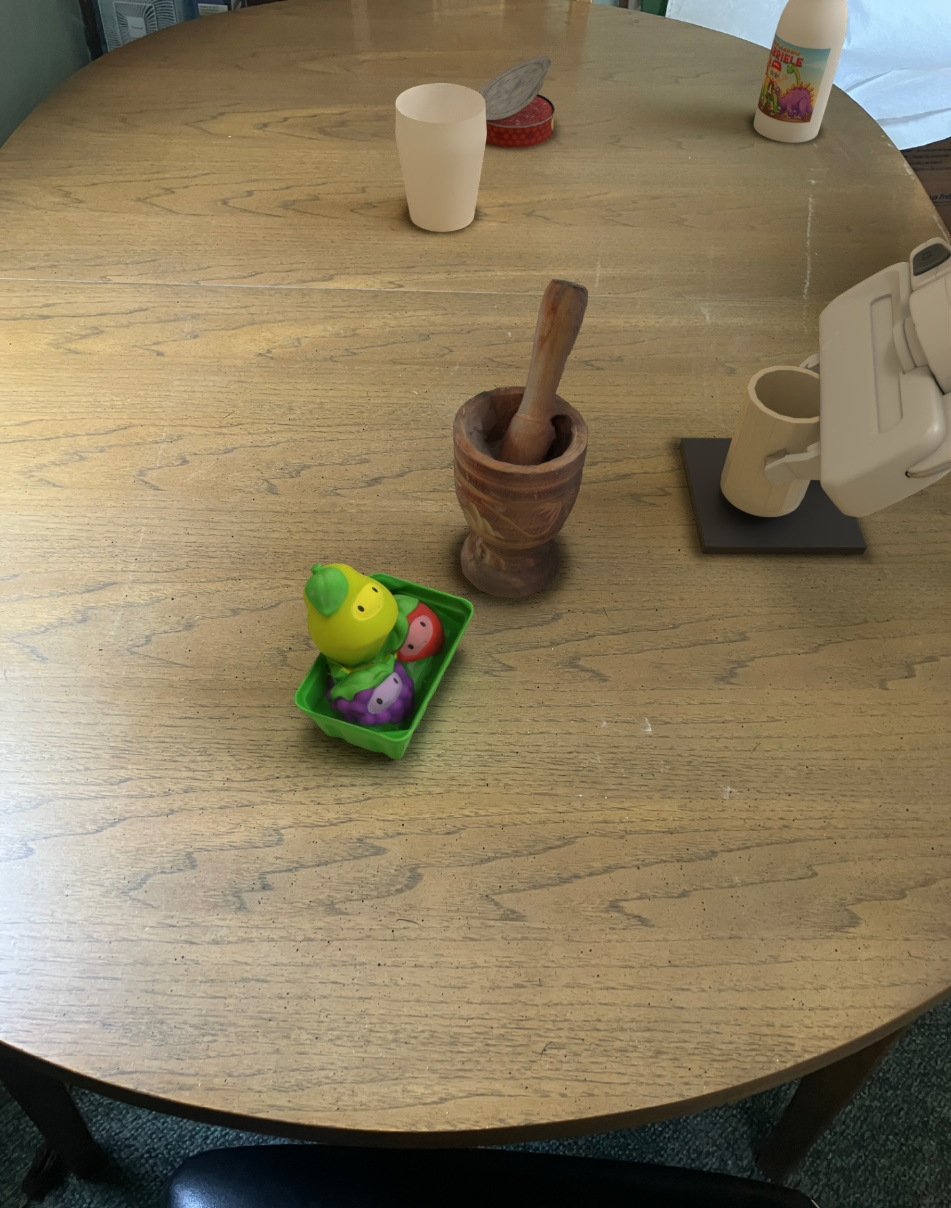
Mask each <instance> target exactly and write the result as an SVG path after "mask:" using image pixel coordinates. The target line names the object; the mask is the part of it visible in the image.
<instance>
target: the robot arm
mask: <svg viewBox="0 0 951 1208" xmlns="http://www.w3.org/2000/svg"><path fill="white" fill-rule="evenodd" d="M818 335H819V336H818V337H819V338H818V346H819V348H818V349H819V351H818V352H816V353H813V354H812V355H810V356H808V357H807V358H805V359H804V360H803V362H801V363H800V364H799V365H798V367H800V368H804V369H808V370H811V371H813V372H815V373H817V374H819V375H820V441H818V442H816V443H814V444H812V445H810V446H808V447H807V453H800V454H791V455H790V453H789V452H788V451H787V450H786V449H785V448H784V449H782V450H779V451H777V452H776V453H775V454H774V455H769V456H767V457H766V458H765V464H764V476H765V477H766V478H767V480H768V481H769V482H770V483H771V484H772V485H773V486H777V487H778V486H782V485H784V484H786V483H789V482H791V481H793V480H795V479H802V480H820V482H821V487H822V488H823V490H824V491H825V493H826V494H827V495H828V497H829V498H830V499H831V501H832V502H833V503H834V504H835V505H836V506H837V508H838V509H839V510H840V511H841V512H842V513H843V514H844V515H847V516H853V517H856V518H864V517H867V516H870V515H872V514H875V513H877V512H880V511H881V510H884V509H886V508H888V507H890V506H892V505H895V504H896V503H898V502H901V501H903V500H905V499H906V498H909V497H910V496H912V495H915V494H916V493H918V492H920V491H922V490H924V489H926V488H927V487H929V486H931V485H933V484H934V483H936V482H938V481H940V480H941V479H942V478H944V477H945V476H947V474H949V473H950V472H951V244H949V243H948V242H947V241H945V239H944V238H942V237H939V236H936V237H933V238H930V239H928V240H927V241H925V242H923V243H921V244H919V245H918V246H916V247H915V248H914V249H913V250H912V251H911V252H910V254H909V262H907V261H900V262H897V263H894V264H892V265H888V267H885V268H883V269H881V270H879V271H878V272H876V273H874V274H872V275H870V276H869V277H867V278H865V279H864V280H861V281H860V282H858V283H857V284H854V285H853V286H852V287H849V288H848V289H847V290H845V291H844V292H842V293H840V294H839V295H838V296H836V297H835V298H834V299H832V300H831V301H830V302H829V304H827V305H826V307H825V308H824V309H823V310H822V311H821V312H820V313H819V317H818Z"/></svg>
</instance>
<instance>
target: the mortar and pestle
mask: <svg viewBox="0 0 951 1208" xmlns="http://www.w3.org/2000/svg"><path fill="white" fill-rule="evenodd" d="M588 301H589V289H588V288H587V287H586V286H584V285H582V284H580V283H576V282H572V281H569V280H564V279H560V278H559V279H558V278H553V279H552V278H551V280H550V281H549V283H548V285H547V286H546V287H545V289H544V291H543V295H542V298H541V302H540V305H539V310H538V314H537V319H536V325H535V331H534V336H533V337H534V339H533V345H532V350H531V351H532V352H531V357H530V358H531V359H530V363H529V368H528V373H527V379H526V383H525V386H518V385H510V386H509V385H508V386H502V387H501V386H500V387H497V388H493V389H490V390H487V391H486V390H485V391H484V390H483V391H481V392H479V393H478V394H476V395H474V396H473V397H471V398H469V399H467V400H466V401H465V402H464V403H463V404H462V405H461V406H460V407H459V409H458V410H457V412H456V414H455V417H454V420H453V425H452V441H453V482H454V489H455V495H456V498H457V501H458V504H459V507H460V509H461V510H462V513H463V517H464V519H465V521H466V522H467V524H468V526H469V528H470V533H469V534H467V535H468V536H466V538H465V539H464V542H463V544H462V547H461V550H460V552H459V553H460V554H459V556H460V567H461V572H462V574H463V576H464V577H465V578H466V579H467V580H468V581H469V582H470V583H471V584H472V585H473V586H474V587H475V588H476V589H477V590H478V591H481V592H483V593H486V594H488V595H491V596H493V597H496V598H509V599H510V598H511V599H521V598H525V597H527V596H531V595H534V594H536V593H539V592H541V591H543V590H544V589H545V588H546V587H548V586H550V584H551V583H552V582H553V581H554V579H555V578H556V576H557V575H558V573H559V571H560V568H561V556H560V548H559V544H558V542H557V541H555V539H554V538H555V537H556V536H557V535H558V534H559V532H560V531H561V530H562V529H563V527H564V525H565V523H566V522H567V519H568V518H569V516H570V514H571V512H572V511H573V509H574V506H575V504H576V502H577V499H578V496H579V493H580V490H581V485H582V482H583V481H582V480H583V471H584V467H585V461H586V457H587V453H588V444H589V443H588V441H589V439H588V438H589V427H588V425H587V423H586V420H585V419H584V417H583V415H582V413H580V411H579V410H578V409H577V408H575V407H574V406H572V405H571V403H570V402H569V401H568V400H566V399H564V398H563V397H562V396H560V395H559V394H557V391H558V388H559V385H560V382H561V379H562V377H563V373H564V371H565V368H566V363H567V361H568V358H569V356H570V355H571V353H572V351H573V349H574V346H575V345H576V344H575V343H576V341H577V338H578V336H579V333H580V331H581V328H582V325H583V322H584V319H585V314H586V310H587V307H588V303H589V302H588Z"/></svg>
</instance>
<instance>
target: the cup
mask: <svg viewBox="0 0 951 1208" xmlns="http://www.w3.org/2000/svg"><path fill="white" fill-rule="evenodd" d="M395 99H396V100H395V127H394V129H395V130H394V131H395V132H394V136H395V137H394V138H395V142H396V147H397V154H398V160H399V164H400V169H401V175H402V180H403V185H404V189H405V191H404V192H405V197H406V202H407V207H408V212H409V217H410V218H409V219H410V220H411V221H412V223H413V224H414V225H415V226H417V227H419V228H421V229H423V230H426V231H429V232H430V231H431V232H436V233H449V232H453V231H459V230H461V229H464V228H465V227H467V226H469V225H470V224H471V223H472V222H473V220H474V218H475V213H476V206H477V199H478V194H479V189H480V183H481V182H480V180H481V177H482V175H481V174H482V168H483V163H484V162H483V161H484V156H485V150H486V144H487V143H486V136H487V129H486V105H485V99H484V98H483V96H482V95H481V94H479V91H477V90H474V89H472V88H470V87H468V86H465V85H460V84H455V83H448V82H447V83H445V82H437V83H436V82H435V83H425V84H420V85H415V86H413V87H410V88H408V89H406V90H404V91H402V92H401V93H399V95H398V96H397V97H396V98H395Z"/></svg>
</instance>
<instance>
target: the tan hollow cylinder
mask: <svg viewBox="0 0 951 1208" xmlns="http://www.w3.org/2000/svg"><path fill="white" fill-rule="evenodd" d="M749 378H750V379H749V381H748V384H747V386H746V389H745V393H744V396H743V400H742V403H741V407H740V410H739V414H738V417H737V420H736V423H735V428H734V430H733V435H732V437H731V438H732V441H731V444H730V448H729V451H728V454H727V458H726V461H725V465H724V468H723V472H722V475H721V480H720V485H721V489H722V492H723V494H724V496H725V497H726V498H727V500H728V501H729V502H730V503H731V504H733V505H734V506H735V507H737V508H738V509H740V510H742V511H744V512H746V513H749V514H752V515H756V516H761V517H778V516H783V515H786V514H788V513H790V512H792V511H794V510H795V509H796V508H797V507H798V506H799V505H800V503H801V501H802V499H803V498H804V495H805V493H806V490H807V488H808V485H809V483H810V480H802V479H795V480H793V481H791V482H789V483H786V484H784V485H782V486H778V487H777V486H773V485H772V484H771V483H770V482H769V481H768V480H767V478H766V477H765V476H764V464H765V458H766V457H767V456H769V455H774V454H775V453H776V452H777V451H779V450H782V449H784V448H785V449H786V450H787V451H788V452H789V453H790V455H791V454H800V453H807V447H808V446H810V445H812V444H814V443H816V442H818V441H820V375H819V374H817V373H815V372H813V371H811V370H808V369H804V368H800V367H799V366H796V365H772V366H768V367H766V368H762V369H760V370H758V371H757V372H756V373H755V374H753V375H752V376H751V377H749Z"/></svg>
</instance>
